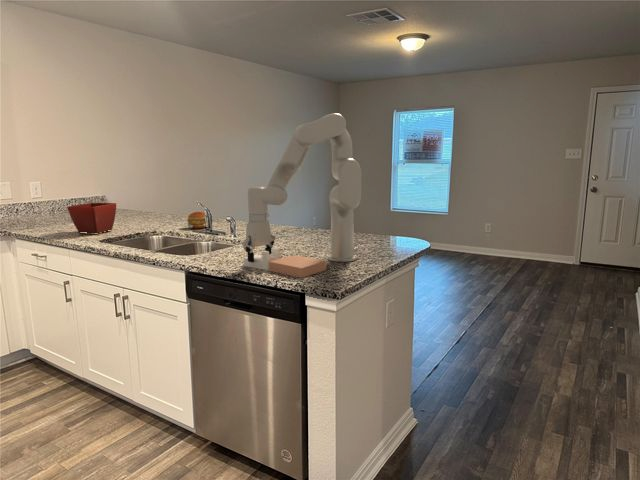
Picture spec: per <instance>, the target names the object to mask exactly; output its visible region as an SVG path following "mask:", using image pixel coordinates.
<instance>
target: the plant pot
mask: <svg viewBox="0 0 640 480" xmlns="http://www.w3.org/2000/svg"><path fill="white" fill-rule="evenodd" d="M66 207H67V211H68V214H69V215H70V218H71V221H72V223H73V224H74V226H75V228H76V230H77V232H78V233H79V232H87V233H100V232H104V231H108V230H113V227H114V225H115V224H114V223H115V218H116V212H117V203H116V202H88V203H83V204H75V205H68V206H66Z"/></svg>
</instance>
